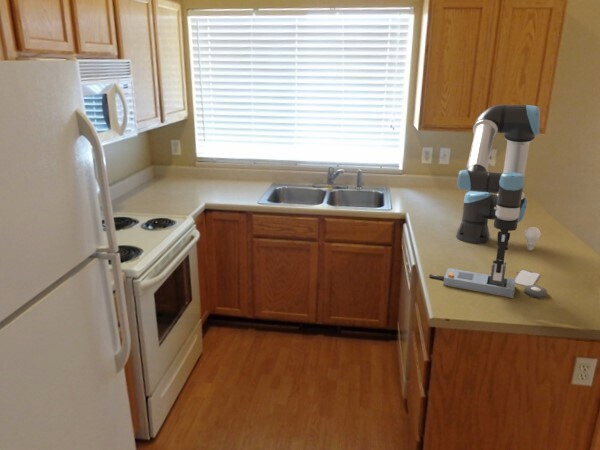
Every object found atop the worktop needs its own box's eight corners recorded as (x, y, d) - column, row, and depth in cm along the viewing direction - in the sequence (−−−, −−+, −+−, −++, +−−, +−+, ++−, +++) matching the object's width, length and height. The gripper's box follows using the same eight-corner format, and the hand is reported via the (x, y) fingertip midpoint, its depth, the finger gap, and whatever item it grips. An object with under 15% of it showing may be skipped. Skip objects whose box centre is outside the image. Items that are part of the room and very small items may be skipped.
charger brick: (488, 285, 173) (492, 260, 170) (502, 287, 171) (506, 262, 168) (487, 289, 169) (491, 264, 166) (501, 292, 167) (505, 266, 164)
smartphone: (511, 282, 175) (520, 269, 186) (511, 283, 175) (520, 270, 187) (532, 287, 171) (541, 273, 182) (532, 289, 171) (540, 275, 182)
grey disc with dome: (524, 288, 171) (525, 283, 170) (545, 291, 168) (546, 287, 167) (524, 295, 165) (525, 291, 164) (546, 299, 162) (547, 294, 161)
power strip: (431, 272, 184) (432, 263, 183) (514, 286, 172) (515, 277, 171) (427, 281, 175) (427, 272, 174) (513, 297, 163) (514, 287, 162)
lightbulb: (518, 249, 209) (522, 225, 206) (529, 247, 211) (532, 224, 208) (530, 253, 203) (534, 230, 200) (540, 251, 206) (545, 228, 202)
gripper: (497, 207, 174) (489, 259, 180) (492, 225, 152) (484, 284, 159) (519, 209, 171) (510, 263, 177) (517, 229, 149) (507, 288, 156)
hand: (498, 273), depth 168 cm, fingers open, 13 cm apart
